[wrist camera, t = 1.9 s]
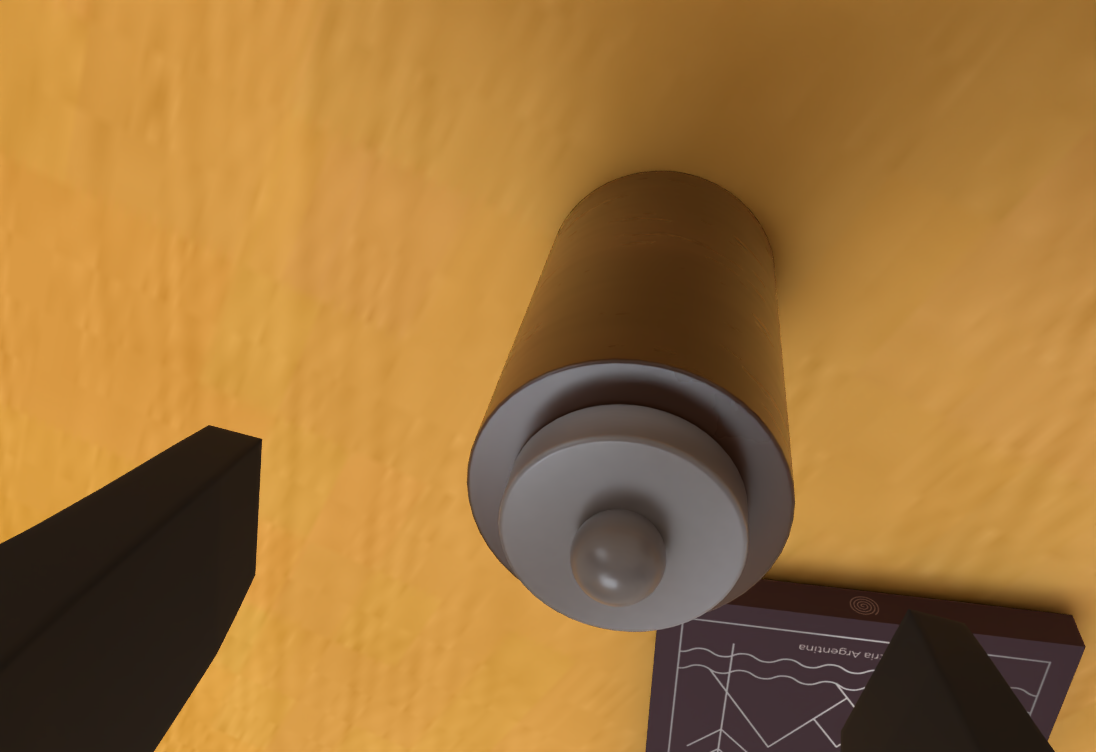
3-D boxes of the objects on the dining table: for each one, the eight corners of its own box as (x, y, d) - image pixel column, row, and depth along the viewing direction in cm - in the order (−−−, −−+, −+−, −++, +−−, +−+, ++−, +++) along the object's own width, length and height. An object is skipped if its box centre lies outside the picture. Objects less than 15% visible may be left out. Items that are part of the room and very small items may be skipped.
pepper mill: (819, 233, 18) (880, 541, 11) (706, 407, 21) (691, 763, 13) (606, 130, 18) (514, 373, 10) (516, 319, 20) (387, 631, 13)
